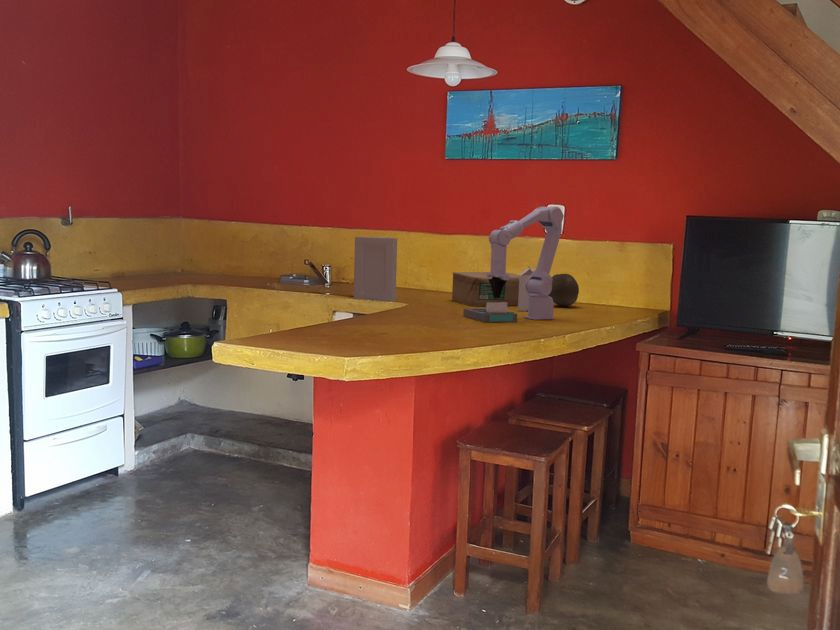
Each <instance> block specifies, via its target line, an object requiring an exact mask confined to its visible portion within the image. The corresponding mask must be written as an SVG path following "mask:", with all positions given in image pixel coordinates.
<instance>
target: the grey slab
mask: <svg viewBox="0 0 840 630" xmlns="http://www.w3.org/2000/svg"><path fill="white" fill-rule="evenodd" d="M485 308H486V314H488V313H507V311H508V306H507V303H506V302H487V305H486V307H485Z"/></svg>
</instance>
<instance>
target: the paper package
mask: <svg viewBox="0 0 840 630" xmlns="http://www.w3.org/2000/svg"><path fill="white" fill-rule="evenodd" d="M487 272H488V271H452V290H451V291H452V292H451V293H452V294H451V295H452V298H451V301H452V302H453V301H454V302H453V303H457V302H458V303H459V304H462V305H467V306H469V305H470V306H469V307H473V306H474V308H486V305H487V302H506V303H507V307H513V306H515V307H516V306H517V307H518V296H519V275H520V274H516V273H511V272H506V273H505V274H507V275H509V280H507V281H506V283H505V285H504V287H503V289H502V292H501V296H500V298H494V297H493V291H492V287H491V284H490V282H489V279H492V277H487ZM495 277H498V276H495Z"/></svg>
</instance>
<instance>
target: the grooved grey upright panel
mask: <svg viewBox="0 0 840 630" xmlns="http://www.w3.org/2000/svg"><path fill="white" fill-rule="evenodd" d="M397 260H398V238H396V237H395V238H394V237H389V236H388V237H385V236H355V237H354V262H353V263H354V264H353V265H354V266H353V267H354V268H353V270H354V271H353V299H355V300H370V301H382V302H383V301H384V302H395V301H396V297H397V292H396V291H397V266H398V265H397V262H398V261H397Z"/></svg>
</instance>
